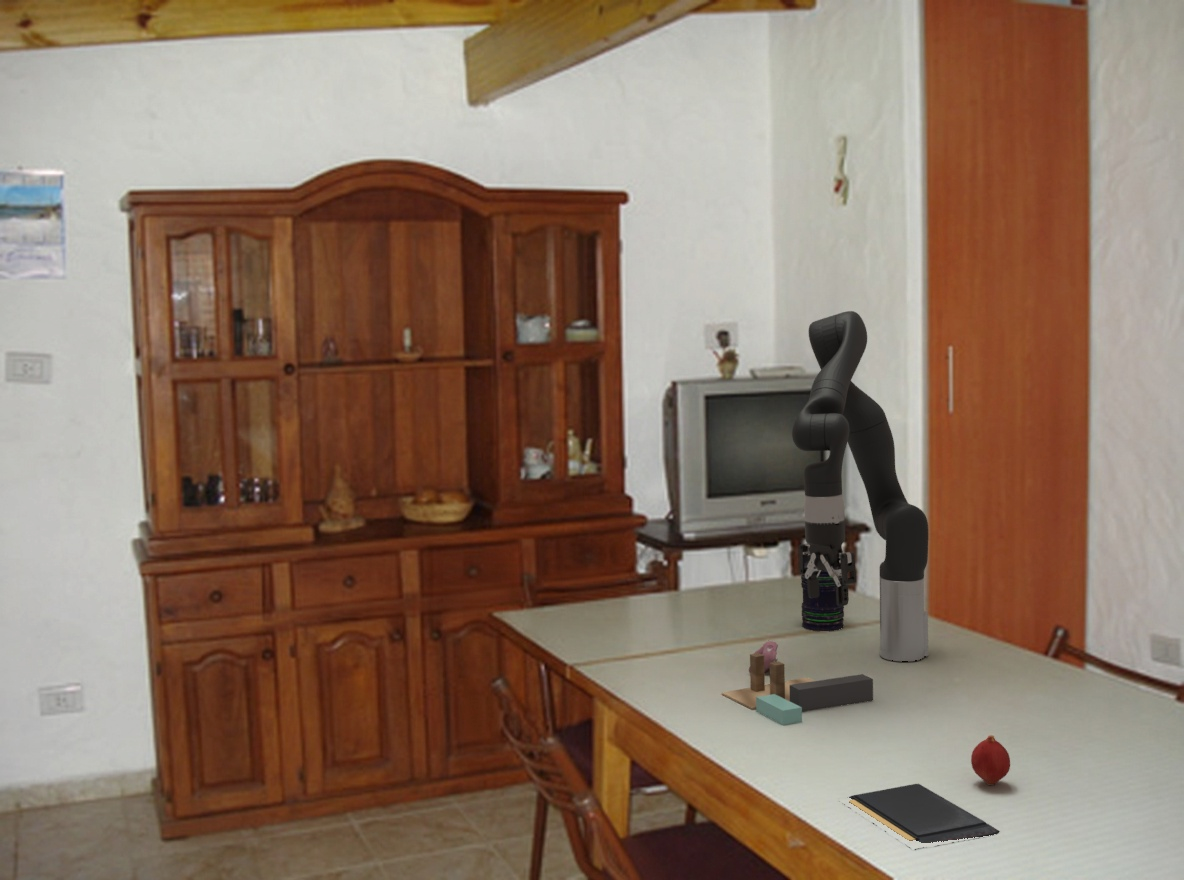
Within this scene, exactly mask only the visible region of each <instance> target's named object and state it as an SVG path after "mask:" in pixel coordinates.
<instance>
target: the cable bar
mask: <svg viewBox="0 0 1184 880" xmlns="http://www.w3.org/2000/svg"><path fill="white" fill-rule="evenodd" d="M872 700H873V701H874V679H873V678H872V677H869V676H868V675H865V674H863V673H861V674H860V673H859V674H856V675H848V676H841V677H835V678H828V679H827V678H826V679H821V680H814V681H813V682H806V683H799V684H792V685H790V702H792V703H794V704H796V705H798V706H800V707H802V713H804V712H810V711H811V712H812V711H816V710H821V709H829V708H834V707H835V708H836V707H842V706H847V704H849V705H855V704H860V703H859V702H862V703H866V702H867V701H868V702H873V701H872ZM854 703H855V704H854ZM841 705H842V706H841Z"/></svg>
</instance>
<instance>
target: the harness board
mask: <svg viewBox="0 0 1184 880" xmlns="http://www.w3.org/2000/svg"><path fill="white" fill-rule="evenodd" d="M749 667H750V673H749V674H750V675H749V676H750V677H749V679H750V684H749V685H750V687H747V688H741V689H735V690H729V691H724V692H721V696H724V697H726V698H727V697H728V698H727V699H730V700H731V701H734V702H736V703H737V704H740V705H741V706H743V707H745V708H748V709H750V710H751V711H754V710H755V711H756V697H760V696H766V695H771V694H775V695H778V696H780V697H782V698H784V699H786V700H788V701H790V685H792V684H799V683H806V682H813V681H815V680H814V679H812V678H810V677H802V678H801V677H800V678H797V679H792V680H791V679H789V680H786V679H785V677H786V676H785V663H784V662H781V661H777V662H773V663H770V668H769V684H765V682H766V681H765V674H766V673H765V671H764V655H762V654H760V653H756V654H754V653H752V654H749Z"/></svg>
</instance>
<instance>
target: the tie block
mask: <svg viewBox="0 0 1184 880" xmlns="http://www.w3.org/2000/svg"><path fill="white" fill-rule="evenodd" d="M755 711H756V713H759V714H760V715H762V716H765V717H766V718H768V719H771V720H772V721H774V722H776V723H778V724H780V725H781V726H788V725H792V724H798V723H802V722H803V712H802V707H800V706H798V705H796V704H794V703H792V702H790V701H788V700H786V699H784V698H782V697H780V696H778V695H775V694H771V695H766V696H760V697H756V709H755Z"/></svg>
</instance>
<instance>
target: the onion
mask: <svg viewBox="0 0 1184 880" xmlns="http://www.w3.org/2000/svg"><path fill="white" fill-rule="evenodd" d="M970 758H971V759H970V763H971V767H972V770H973V771H974V773H975V774H976V775H977V776H978V777H979V778H981V780H983V781H984V782H985V783H986V784H987V785H989V786H994V785H995V784H997V783H998V782H999V781H1001V780H1002V779H1003V778H1005V777H1006V776H1007V774H1008V773H1009V772H1010V769H1011V758H1010V755H1009V752H1008V751H1007V749H1006V748H1005V747H1004V745H1003V744H1002V743H1000V742H999V741H998V740H997V739H996V737H995V736H994V735H992V734H989V735H988V736H987V738H985V739H984V740H982V741H980V742H979V743H978V744H977V745H976V746H975V747H974V749H973V750H972V752H971V757H970Z"/></svg>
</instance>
